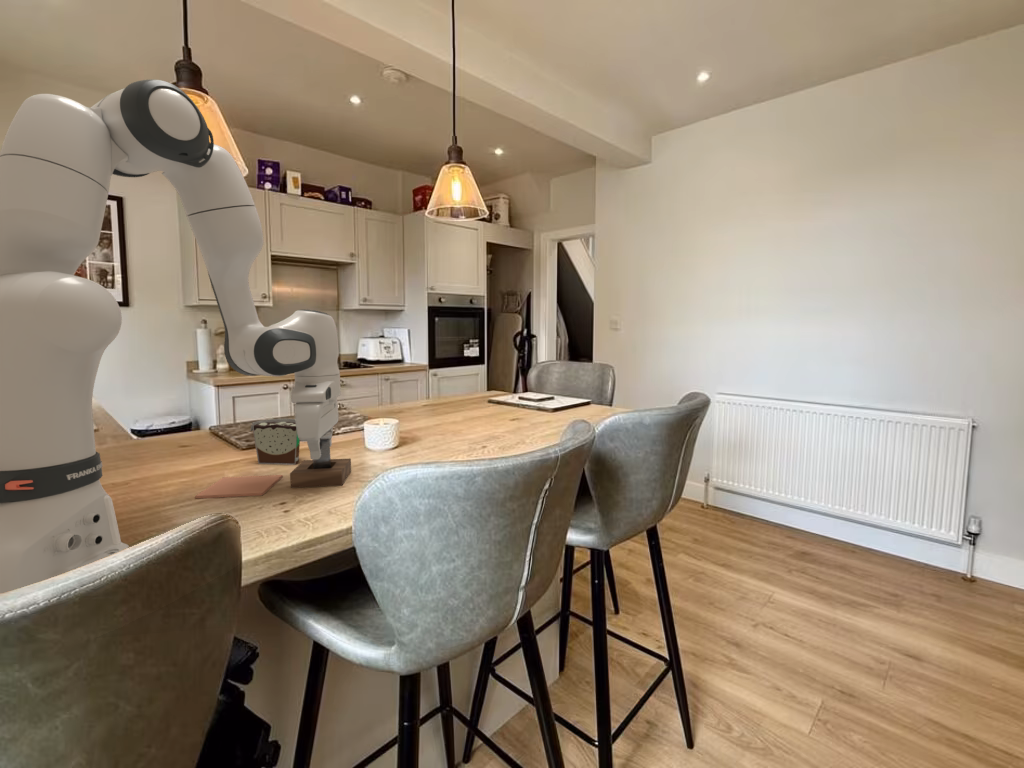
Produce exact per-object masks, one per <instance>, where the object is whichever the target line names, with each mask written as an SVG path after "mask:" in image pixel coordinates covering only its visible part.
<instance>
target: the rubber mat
mask: <svg viewBox="0 0 1024 768" xmlns="http://www.w3.org/2000/svg"><path fill="white" fill-rule="evenodd" d="M283 477H284V476H283V474H269V475H268V474H267V475H247V476H246V475H245V476H244V475H243V476H222V478H220V479H219V480H217V481H216V482H214V483H212V485H210V486H208V487H207V488H205V489H204V490H202V491H201V492H199V493H197V494H196V495H195V496H194V497H195V498H194V499H195V500H196V499H212V498H213V499H215V498H217V499H218V498H233V497H237V498H238V497H239V498H240V497H254V496H255V497H258V496H260V497H261V496H264V495H265V494H266V493H267V492H268V491H270V489H271V488H272V487H274V485H276V484H277V483H278V482H279V481H280V480H282V479H283Z"/></svg>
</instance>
